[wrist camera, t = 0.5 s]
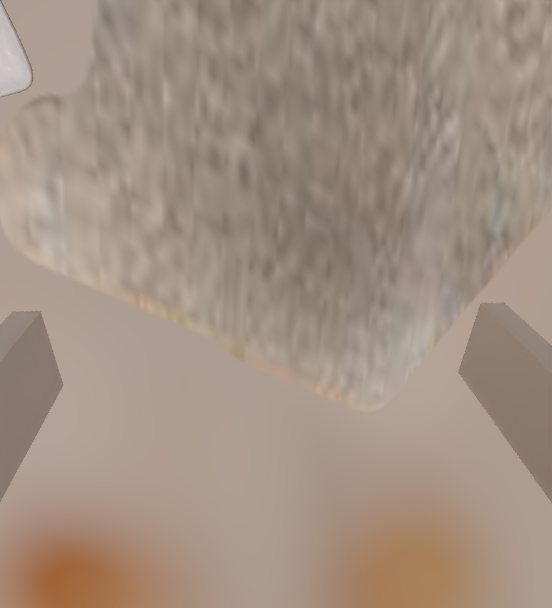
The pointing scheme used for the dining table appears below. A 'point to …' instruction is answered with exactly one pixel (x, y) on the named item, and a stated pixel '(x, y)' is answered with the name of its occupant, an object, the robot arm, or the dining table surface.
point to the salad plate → (12, 59)
